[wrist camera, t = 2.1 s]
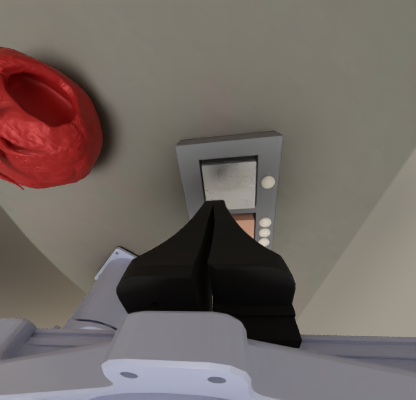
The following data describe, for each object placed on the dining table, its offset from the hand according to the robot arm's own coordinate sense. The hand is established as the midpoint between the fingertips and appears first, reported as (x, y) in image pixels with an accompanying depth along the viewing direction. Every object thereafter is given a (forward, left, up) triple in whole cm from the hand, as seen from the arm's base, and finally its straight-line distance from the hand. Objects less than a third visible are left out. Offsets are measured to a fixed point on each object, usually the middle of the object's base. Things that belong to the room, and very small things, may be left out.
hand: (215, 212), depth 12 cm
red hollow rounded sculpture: (-6, +15, -8) cm, 18 cm away
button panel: (-4, -5, -8) cm, 10 cm away
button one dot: (+1, -1, -6) cm, 6 cm away
